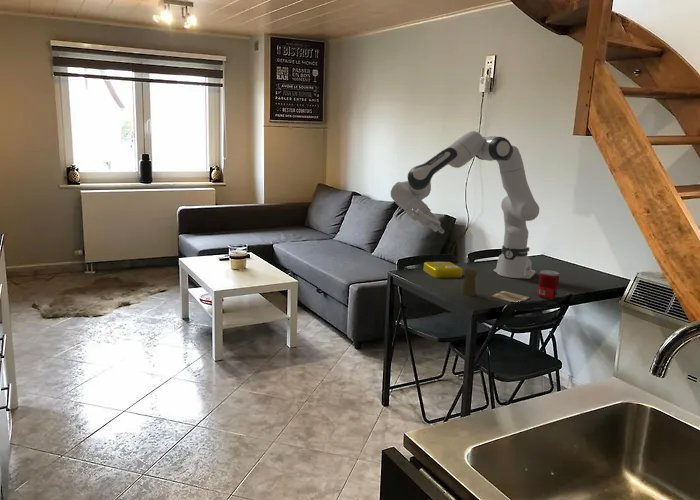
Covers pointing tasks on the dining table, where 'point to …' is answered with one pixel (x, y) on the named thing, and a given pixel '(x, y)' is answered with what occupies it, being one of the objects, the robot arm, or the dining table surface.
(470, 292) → the cork
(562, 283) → the dining table surface
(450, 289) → the dining table surface
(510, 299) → the coaster
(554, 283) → the canned food
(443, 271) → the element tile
